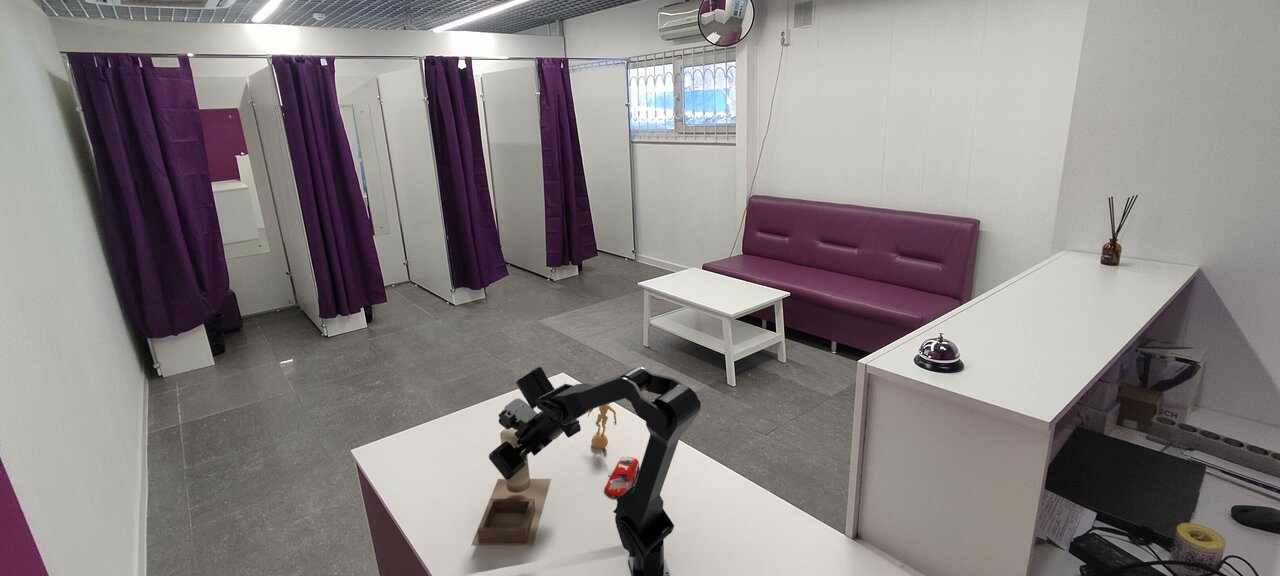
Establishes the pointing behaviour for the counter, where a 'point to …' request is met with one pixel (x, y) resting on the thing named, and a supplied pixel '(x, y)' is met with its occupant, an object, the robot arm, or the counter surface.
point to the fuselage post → (521, 477)
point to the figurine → (599, 438)
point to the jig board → (512, 515)
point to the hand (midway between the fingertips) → (510, 458)
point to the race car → (622, 477)
